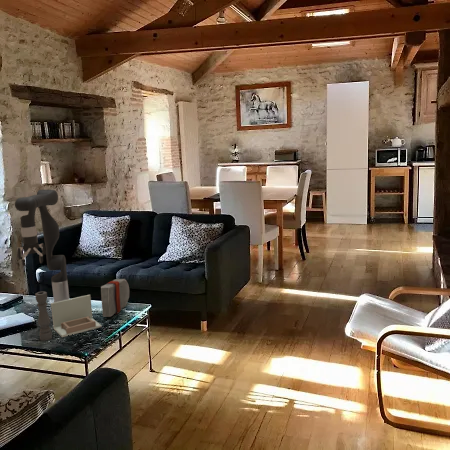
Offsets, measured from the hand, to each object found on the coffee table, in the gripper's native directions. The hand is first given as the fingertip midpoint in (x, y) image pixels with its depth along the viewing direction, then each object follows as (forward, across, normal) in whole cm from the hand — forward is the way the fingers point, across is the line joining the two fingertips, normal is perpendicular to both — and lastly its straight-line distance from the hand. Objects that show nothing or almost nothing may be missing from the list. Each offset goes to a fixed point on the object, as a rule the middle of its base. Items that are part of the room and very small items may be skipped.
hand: (32, 264), depth 274 cm
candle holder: (+38, 0, +12) cm, 40 cm away
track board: (+38, -18, +9) cm, 43 cm away
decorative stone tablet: (+38, -46, -2) cm, 60 cm away
